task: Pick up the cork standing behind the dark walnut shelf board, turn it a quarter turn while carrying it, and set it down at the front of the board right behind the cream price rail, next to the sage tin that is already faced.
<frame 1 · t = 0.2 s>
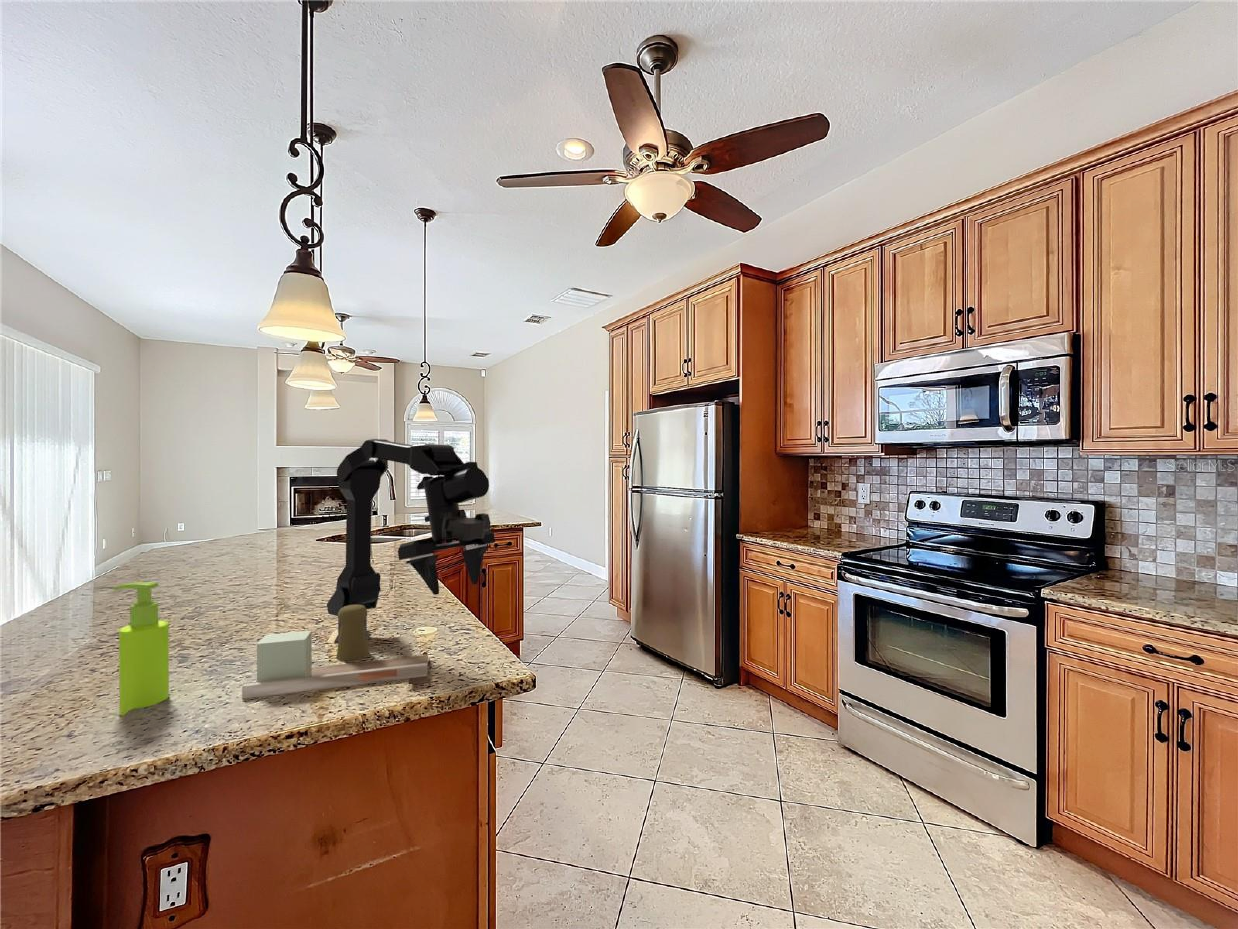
hand: (456, 589, 100), 15 cm above the countertop, tool pointing down, fingers open, 9 cm apart
soap dispenser: (141, 709, 85), on the countertop
sage tin: (285, 683, 91), point 1 cm above the countertop, touching shelf board
shelf board: (344, 681, 95), on the countertop
cork: (352, 662, 105), on the countertop
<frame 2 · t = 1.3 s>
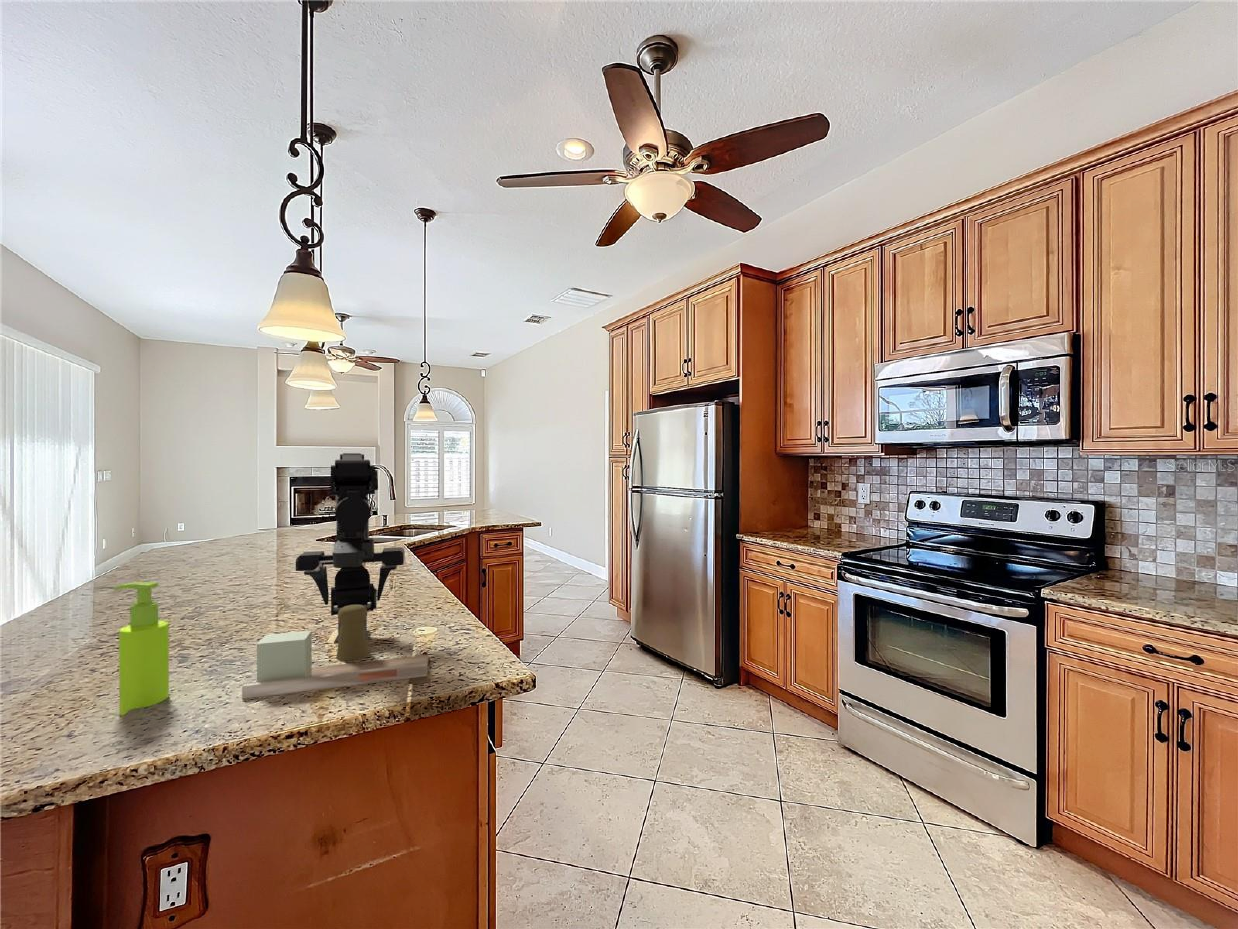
hand: (353, 602, 105), 12 cm above the countertop, tool pointing down, fingers open, 9 cm apart
nothing on the countertop moved.
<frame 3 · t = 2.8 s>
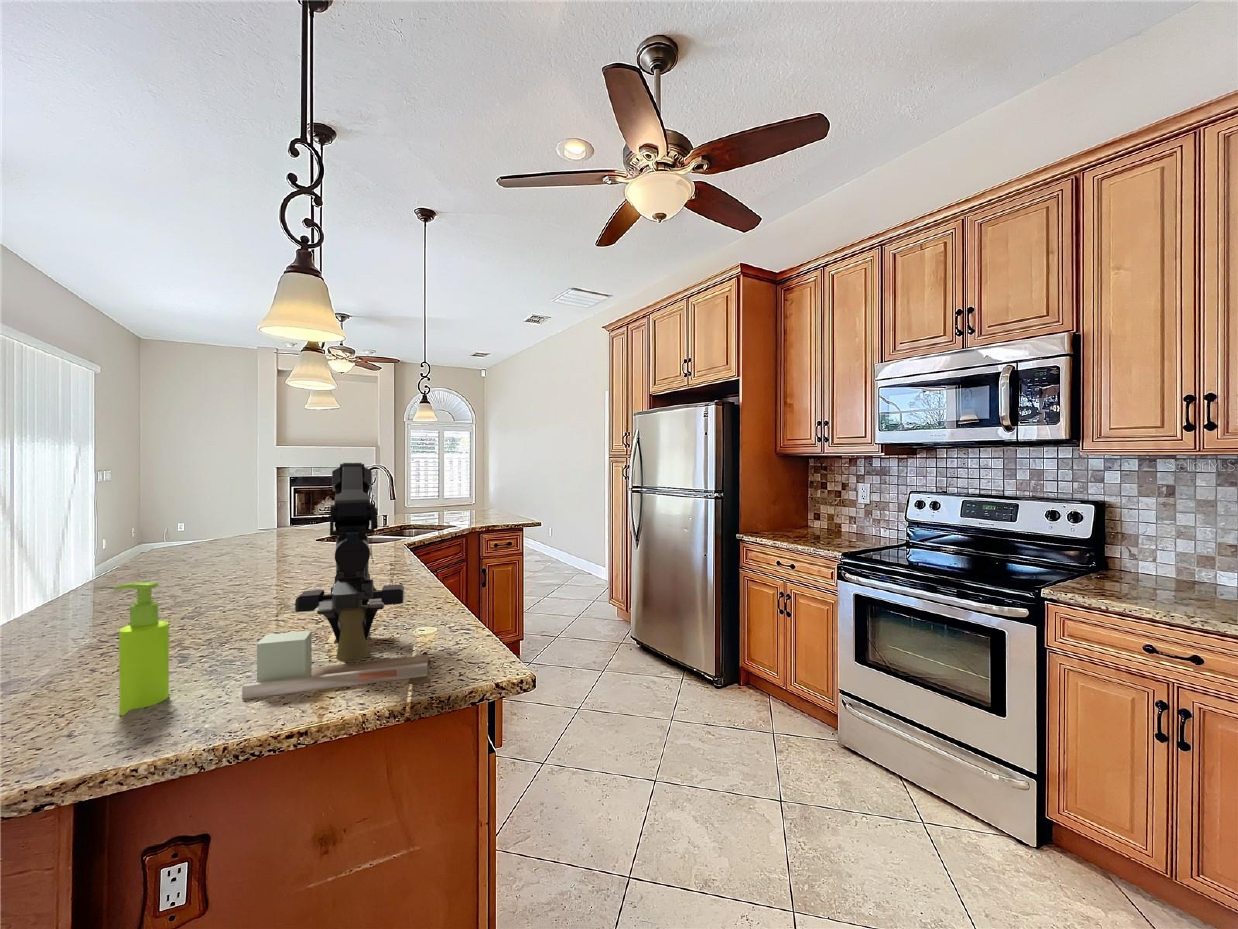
hand: (352, 641, 105), 4 cm above the countertop, tool pointing down, fingers closed on cork, 4 cm apart
cork: (352, 662, 105), on the countertop, touching gripper
everything else where it was.
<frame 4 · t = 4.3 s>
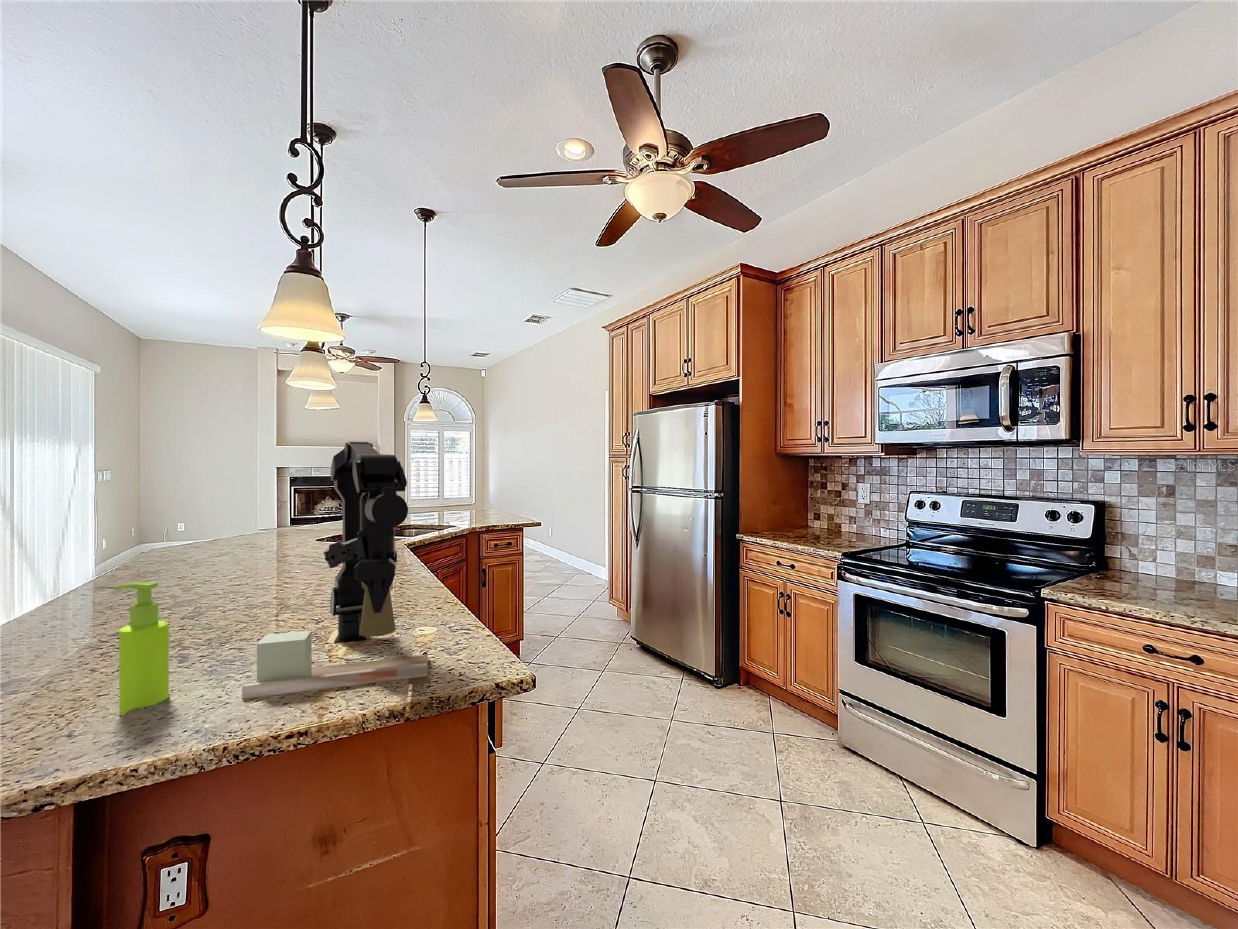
hand: (377, 609, 97), 12 cm above the countertop, tool pointing down, fingers closed on cork, 4 cm apart
cork: (377, 632, 97), point 8 cm above the countertop, touching gripper
everything else where it was.
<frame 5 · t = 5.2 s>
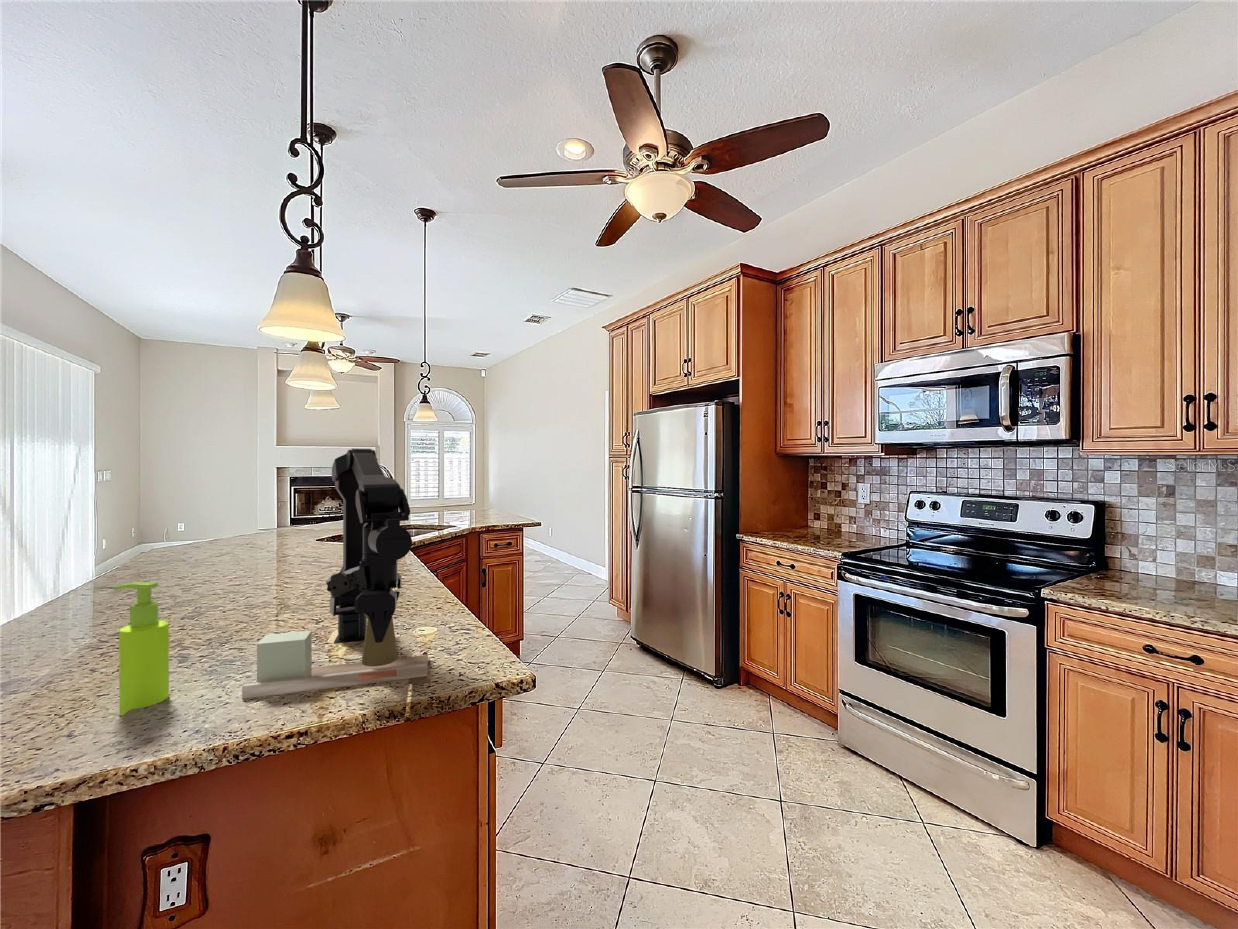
hand: (380, 638, 96), 7 cm above the countertop, tool pointing down, fingers closed on cork, 4 cm apart
cork: (380, 661, 97), point 3 cm above the countertop, touching gripper
everything else where it was.
when the fingers open (6 cm above the countertop, at t = 5.9 s): cork stays where it is, resting on shelf board.
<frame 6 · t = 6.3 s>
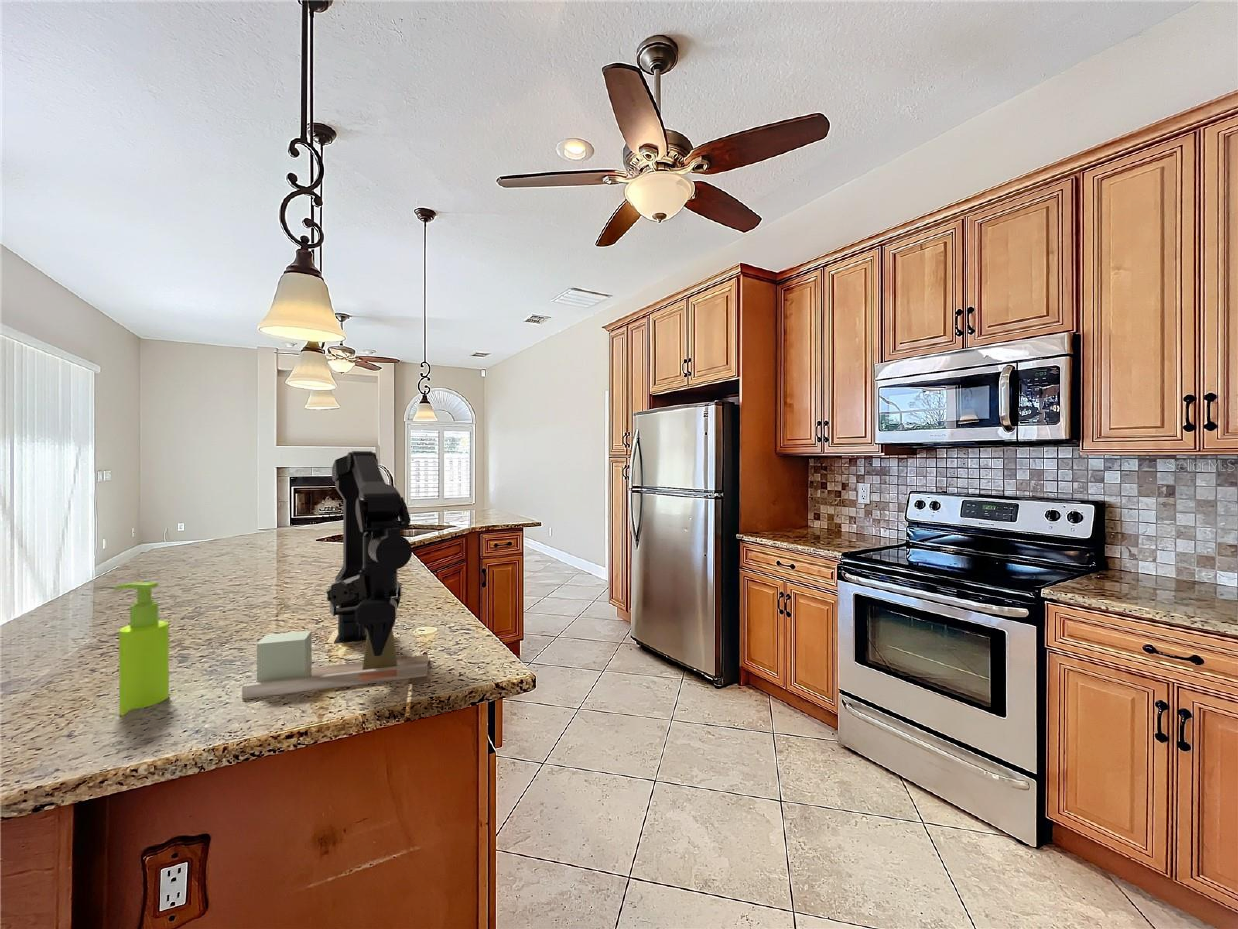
hand: (380, 647, 96), 6 cm above the countertop, tool pointing down, fingers open, 9 cm apart
cork: (380, 673, 96), point 1 cm above the countertop, touching shelf board
everything else where it was.
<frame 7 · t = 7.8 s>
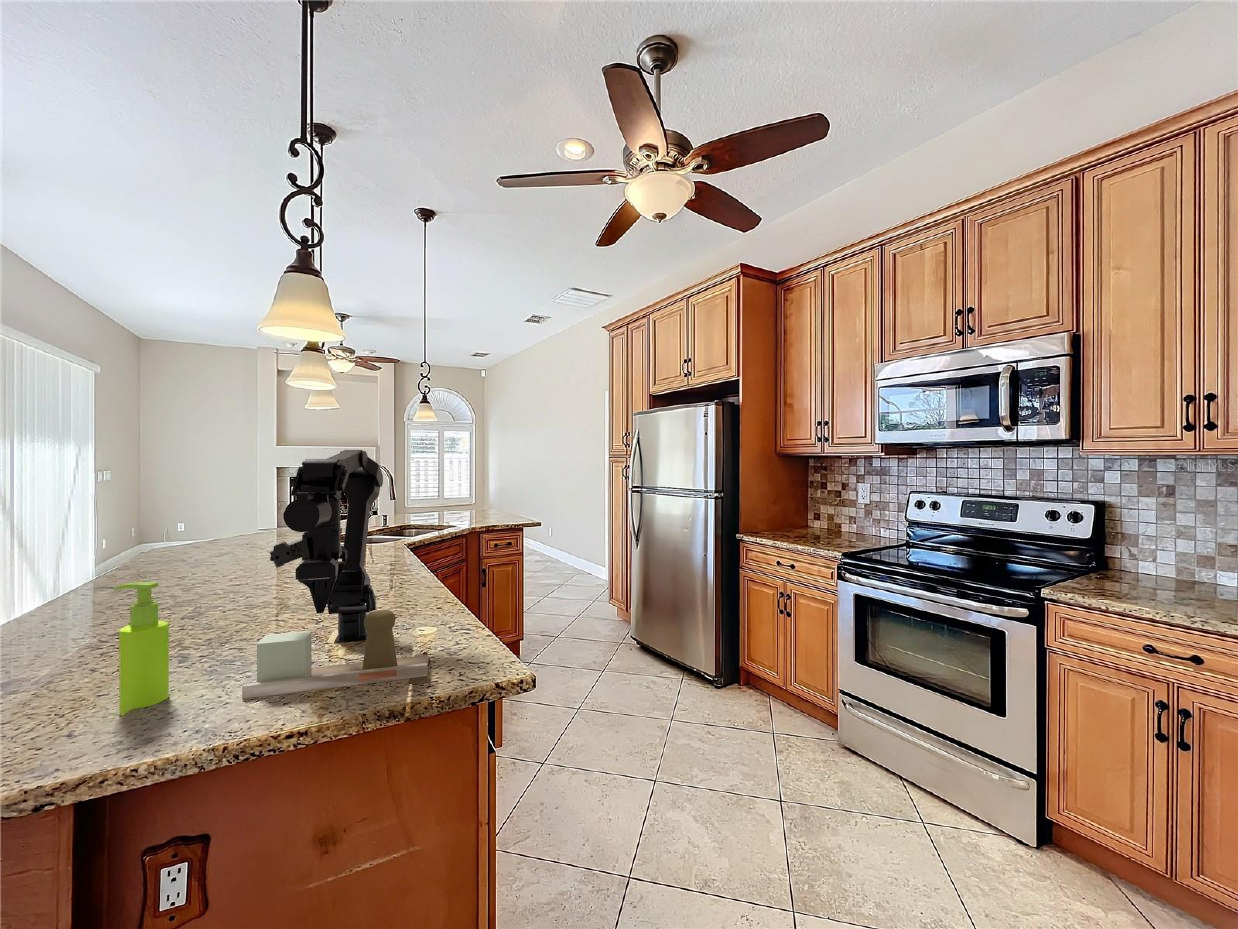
hand: (324, 606, 101), 12 cm above the countertop, tool pointing down, fingers open, 9 cm apart
nothing on the countertop moved.
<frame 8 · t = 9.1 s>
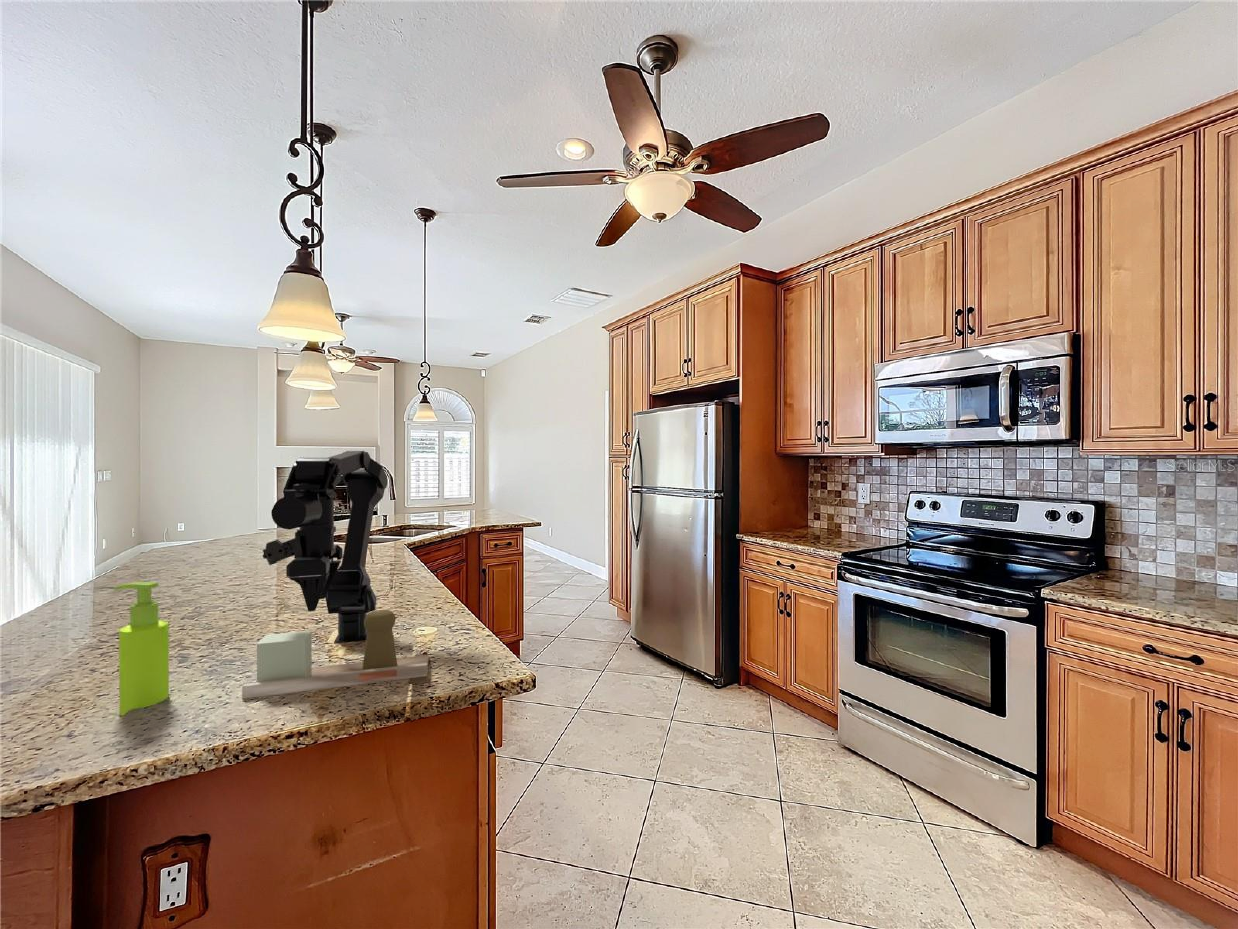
hand: (317, 604, 102), 12 cm above the countertop, tool pointing down, fingers open, 9 cm apart
nothing on the countertop moved.
at the end: cork 0.1 cm from the target spot, point 1.0 cm above the countertop; cork tilted 0°; the gripper is holding nothing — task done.
